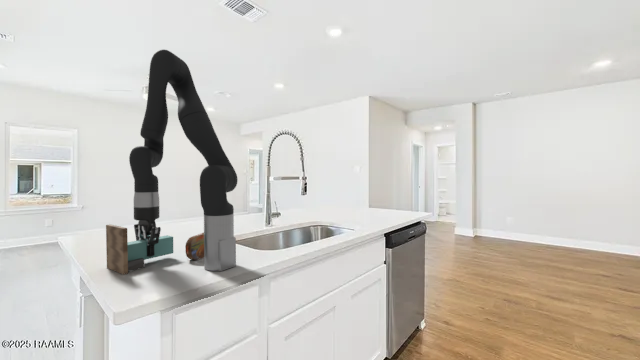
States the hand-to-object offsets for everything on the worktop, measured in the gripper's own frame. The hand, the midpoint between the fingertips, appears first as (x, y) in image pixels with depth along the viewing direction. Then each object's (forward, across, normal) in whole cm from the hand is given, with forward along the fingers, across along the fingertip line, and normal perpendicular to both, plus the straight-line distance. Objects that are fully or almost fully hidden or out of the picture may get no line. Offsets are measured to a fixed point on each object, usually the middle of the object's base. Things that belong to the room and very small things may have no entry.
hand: (147, 254), depth 98 cm
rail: (+1, 0, 0) cm, 1 cm away
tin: (+3, -8, -15) cm, 17 cm away
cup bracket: (+3, 0, +7) cm, 7 cm away
